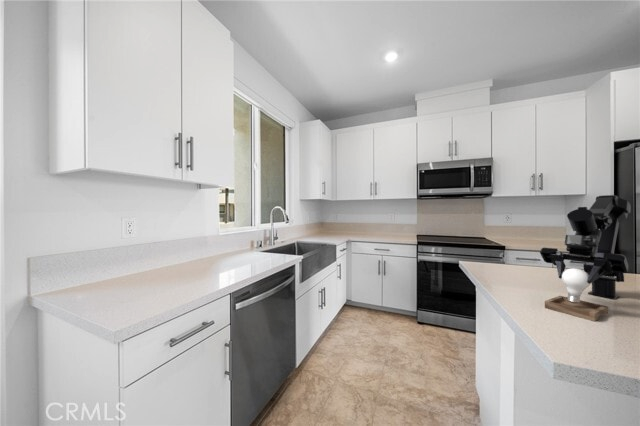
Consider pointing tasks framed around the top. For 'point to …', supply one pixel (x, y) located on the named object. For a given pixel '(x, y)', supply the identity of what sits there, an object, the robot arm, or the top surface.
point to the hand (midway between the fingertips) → (573, 280)
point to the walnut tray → (577, 308)
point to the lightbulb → (575, 283)
